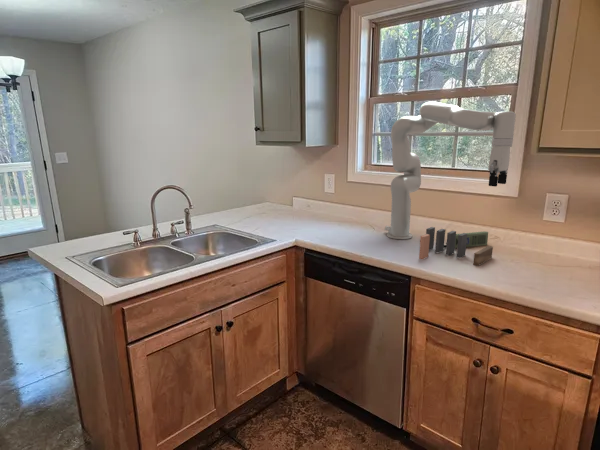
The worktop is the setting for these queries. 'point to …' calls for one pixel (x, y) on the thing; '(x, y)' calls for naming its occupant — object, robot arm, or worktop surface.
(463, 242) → the domino
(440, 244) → the domino
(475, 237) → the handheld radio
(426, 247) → the domino
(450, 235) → the domino
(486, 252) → the bar
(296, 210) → the worktop surface
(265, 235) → the worktop surface
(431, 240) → the domino
